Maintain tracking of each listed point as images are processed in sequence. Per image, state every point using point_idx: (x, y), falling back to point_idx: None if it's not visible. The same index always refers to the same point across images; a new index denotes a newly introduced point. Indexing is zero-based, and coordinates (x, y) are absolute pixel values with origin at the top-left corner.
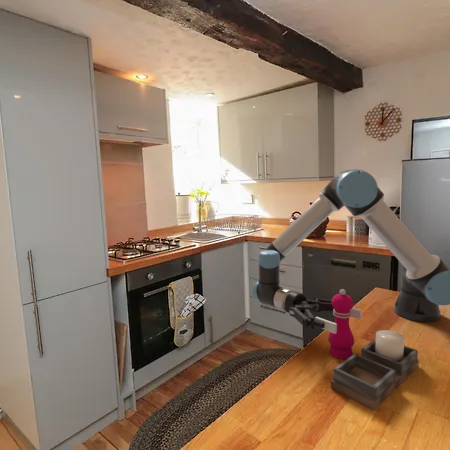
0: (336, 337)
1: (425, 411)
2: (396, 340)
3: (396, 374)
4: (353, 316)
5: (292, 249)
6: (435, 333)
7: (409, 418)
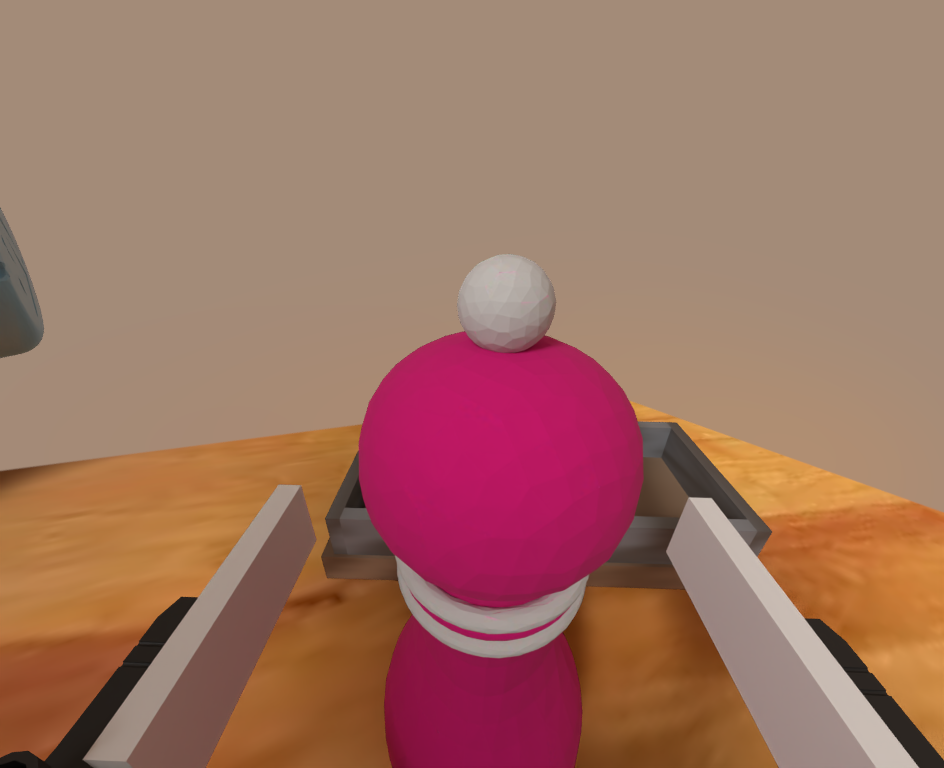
0: (572, 656)
1: None
2: None
3: None
4: (287, 590)
5: None
6: (57, 482)
7: None
